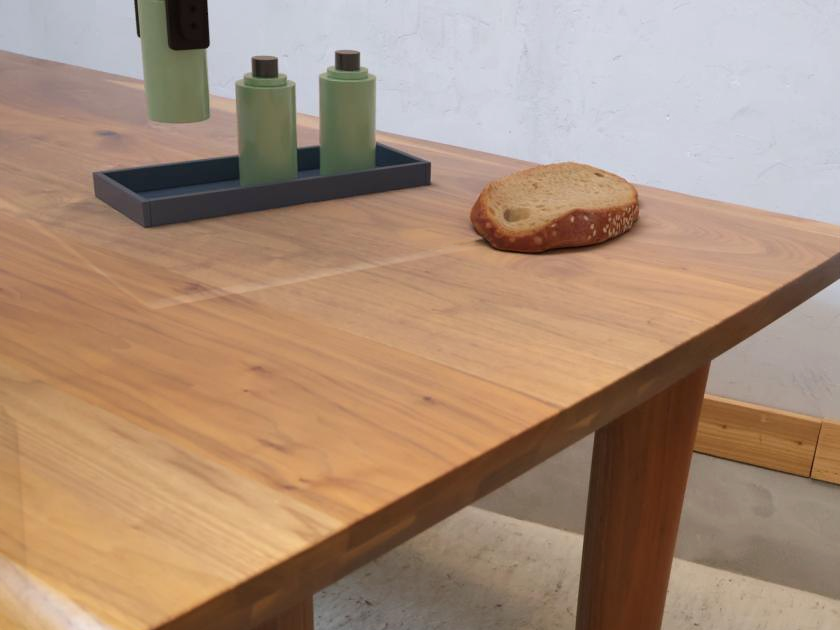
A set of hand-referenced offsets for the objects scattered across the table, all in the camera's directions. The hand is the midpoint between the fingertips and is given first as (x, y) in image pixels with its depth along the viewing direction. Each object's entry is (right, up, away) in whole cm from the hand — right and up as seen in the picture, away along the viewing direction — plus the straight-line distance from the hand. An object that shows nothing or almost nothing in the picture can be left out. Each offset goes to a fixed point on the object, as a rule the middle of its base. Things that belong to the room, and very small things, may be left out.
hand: (173, 40), depth 90 cm
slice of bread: (+30, -12, +8) cm, 34 cm away
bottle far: (+12, -7, +14) cm, 20 cm away
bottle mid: (+6, -9, +10) cm, 15 cm away
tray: (+6, -10, +10) cm, 15 cm away
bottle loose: (0, -5, +3) cm, 6 cm away
